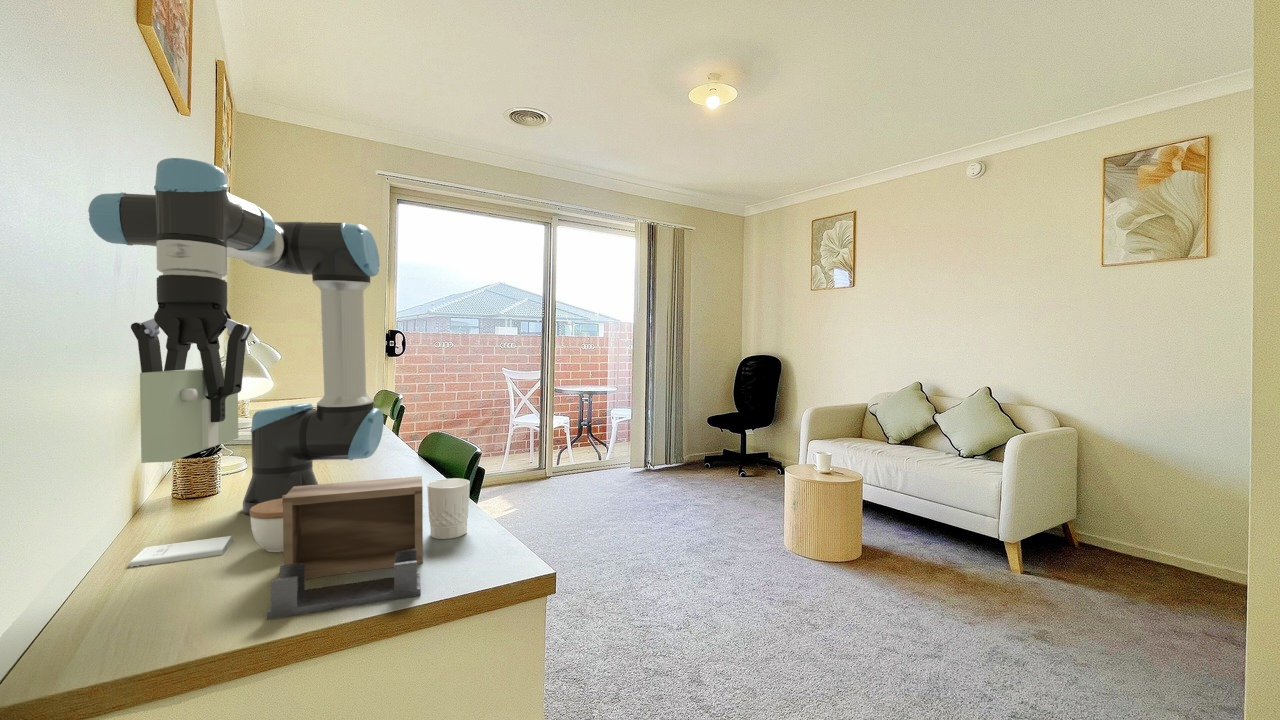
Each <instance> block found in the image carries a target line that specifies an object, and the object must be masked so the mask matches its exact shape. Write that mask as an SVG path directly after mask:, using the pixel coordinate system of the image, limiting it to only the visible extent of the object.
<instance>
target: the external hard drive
mask: <svg viewBox="0 0 1280 720" xmlns="http://www.w3.org/2000/svg"><path fill="white" fill-rule="evenodd" d="M232 542H233V535H228V536H227V535H226V536H220V537H219V536H218V537H213V538H212V537H211V538H206V539H205V538H203V539H197V540H190V541H189V540H188V541H181V542H176V543H175V542H174V543H167V544H160V545H152V546H145V547H144V548H143V549H142V550H141V551H140V552H139V553H138V554H137V555H135V556H134V558H132V559H131V560H130V562H129V568H134V567H133V566H137V567H140V566H139V565H144V566H150V565H149V564H152V565H159V564H164V563H172V562H178V561H187V560H193V559H194V560H195V559H201V558H202V559H203V558H207V557H208V558H209V557H214V556H215V557H216V556H223V555H224V554H225V553H226V551H227V549H228V548H229V546H230V545H231V543H232Z"/></svg>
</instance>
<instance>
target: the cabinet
mask: <svg viewBox="0 0 1280 720" xmlns="http://www.w3.org/2000/svg"><path fill="white" fill-rule="evenodd" d="M423 497H424V495H423V476H422V475H421V476H410V477H409V476H408V477H407V476H406V477H397V478H384V479H371V480H370V479H369V480H359V481H347V482H346V481H345V482H334V483H321V484H319V483H318V485H306V486H294V487H293V488H292V489H291V490H290V491H289V492H288V493H287V494H286V496H285V497H284V498H283V552H282V553H283V565H288V564H295V563H303V562H305V580H308V579H315V578H322V577H329V576H338V575H345V574H352V573H359V572H366V571H367V572H368V571H374V570H381V569H387V568H389V569H390V568H394V563H395V551H398V550H406V549H414V548H416V549H417V565H418V564H423V563H424V561H423V560H424V559H423V555H424V551H423V549H424V548H423V547H424V543H423V541H424V540H423V539H424V537H423V535H424V534H423V531H424V529H423V520H424V519H423V515H424V514H423V506H424V505H423V500H424V499H423Z"/></svg>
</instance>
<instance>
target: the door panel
mask: <svg viewBox="0 0 1280 720" xmlns="http://www.w3.org/2000/svg"><path fill="white" fill-rule="evenodd" d="M222 370H223V376H224V377H225V367H224V366H222ZM139 385H140V387H139V392H140V394H139V395H140V398H139V399H140V402H139V404H140V405H139V406H140V456H141V457H140V459H141V464H146V463H147V464H149V463H150V464H151V463H169V462H170V463H171V462H173V461H177V460H179V459H182V458H185V457H188V456H191V455H193V454H197V453H200V452H202V451H205V450H208V449H211V448H213V447H217V446H220V445H222V444H226V443H228V442H231V441H233V440H236V439H239V393H235V394H232V395H229V396H228V397H227V398H226V399H225V419H224V421H221V422H218V445H215V446H211V447H208V448H202V400H206V399H207V398H206V397H205V396H208V392H207V387H206V382H205V376H204V371H203V367H202V368H201V367H200V368H188V369H186V368H185V370H173V371H164V370H163V371H159V372H145V373H141V372H140V373H139Z"/></svg>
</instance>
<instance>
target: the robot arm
mask: <svg viewBox="0 0 1280 720" xmlns="http://www.w3.org/2000/svg"><path fill="white" fill-rule="evenodd" d="M154 184H155V185H154V187H153V190H154V191H155V194H144V193H143V194H140V193H126V192H122V191H121V192H120V193H119V192H118V193H101V194H98V195H96V196H94V198H93V199H92V200H91V201H90V202H89V206H88V217H89V218H88V220H89V224H90V227H91V228H92V230H93V232H94V233H95V234H96V235H97V236H98V237H99V239H102V240H103V241H105V242H107V243H111V244H116V245H117V244H118V245H126V246H150V247H156V270H157V271H158V272H160V273H162V274H160V275H158V277H156V301H157V310H156V311H155V313H154V315H153V318H150V319H148V320H146V321H143V322H133V323H131V325H130V329H131V331H132V333H133V335H134V337H135V338H136V340H137V346H138V354H139V362H140V363H139V364H140V371H141V372H140V373H145V372H159V371H173V370H186V364H187V359H188V358H187V357H188V354H189V353H188V352H189V351H190V349H191V347H192V345H193V344H195V345H196V348H197V350H198V351H199V355H200V360H201V364H202V365H201V366H202V368H203V371H204V376H205V382H206V387H207V392H208V396H205V397H206V398H207V399H206V400H202V448H208V447H211V446H214V447H216V446H215V445H217V446H219V445H218V422H221V421H224V419H225V399H226V398H227V397H228V396H229V395H232V394H235V393H238V394H239V393H241V391H242V389H243V375H244V365H245V355H246V342H247V340H248V338H249V337H250V334H251V332H252V330H253V329H252V326H251V325H250V324H243V323H241V322H237V321H235V320H234V319H232V317H231V315H230V314H229V311H228V282H227V281H226V280H225V279H223V278H224V277H227V275H228V258H231V259H238V260H242V261H243V262H245V263H246V264H249V265H250V266H253V267H259V268H264V269H265V268H266V269H269V270H274V271H279V272H284V273H288V274H295V275H296V274H297V275H307V276H308V275H309V276H311V279H312V283H313V284H314V286H316V287H317V288H318V289H319V290H320V306H321V309H320V310H321V311H320V312H321V313H320V314H321V334H322V335H321V336H322V337H321V339H322V366H323V367H322V369H323V396H322V398H321V399H319V401H317V403H316V409H314V406H313V404H312V403H310V402H308V403H297V404H290V405H284V406H277V407H275V406H274V407H271V408H265V409H260V410H258V411H257V410H256V411H255V413H253V415H252V420H251V429H250V433H251V470H252V471H251V479H250V481H249V484H248V487H247V489H246V492H245V495H244V496H243V501H242V512H243V514H246V515H249V516H250V509H251V507H253V506H255V505H257V504H259V503H262V502H266V501H270V500H275V499H281V498H282V496H283V495H286V494H287V493H288V492H289V491H290V490H291V489H292V488H293V487H294V486H306V485H319V483H318V480H317V478H316V476H315V472H314V469H313V466H314V465H313V464H314V463H313V461H330V460H331V461H332V460H334V461H336V460H337V461H340V460H348V461H353V460H362V459H368V458H370V457H372V456H373V455H374V454H375V452H377V450H378V447H379V445H380V442H381V439H382V436H383V431H384V421H385V420H384V415H383V414H384V413H383V411H382V409H380V408H378V407H374V405H375V404H374V399H373V398H372V397H371V396H370V395H369V394H368V393H367V377H366V376H367V374H366V373H367V372H366V368H367V367H366V345H365V344H366V343H365V342H366V339H365V336H366V335H365V305H364V303H365V302H364V292H365V291H366V289H367V288H368V287H370V285H371V278H372V277H376V276H377V275H378V274H379V271H380V269H379V268H380V265H381V264H380V255H379V250H378V249H379V248H378V247H377V243H376V240H375V238H374V236H373V234H372V233H371V231H370V229H369V228H367V227H366V226H365V225H362V224H358V223H349V222H319V221H318V222H317V221H316V222H315V221H314V222H312V221H311V222H309V221H278V222H276V221H274V219H273V217H272V216H271V215H270V214H269V213H268V212H267V211H265V210H264V209H262V208H261V207H259V206H258V205H256V204H255V203H252V202H250V201H247V200H246V199H242V198H240V197H238V196H236V195H234V194H233V193H232V194H231V193H230V192H229V191H228V189H229V186H228V181H227V175H226V174H225V172H224V170H223V169H222V168H221V167H219V166H217V165H215V164H212V163H209V162H206V161H201V160H197V159H193V158H192V159H191V158H184V157H183V158H182V157H169V158H168V157H167V158H164V159H161V160H159V161H158V163H157V165H156V173H155V183H154ZM160 329H161V330H162V332H163V333H164V334H165V335H166V336H167V338H166V343H165V344H166V345H165V348H166V350H167V352H166V356H165V363H164V369H163V361H162V360H163V359H162V352H161V344H160V343H161V342H160V339H159V334H160ZM226 329H227V335H228V336H229V337H228V339H227V345H226V346H227V348H226V359H225V377H224V376H223V370H222V367H223V365H222V360H221V355H220V348H221V345H220V339H219V338H220V337H221V335H222V334H223V332H224V331H225V330H226ZM211 448H212V447H211ZM208 449H209V448H208Z"/></svg>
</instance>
